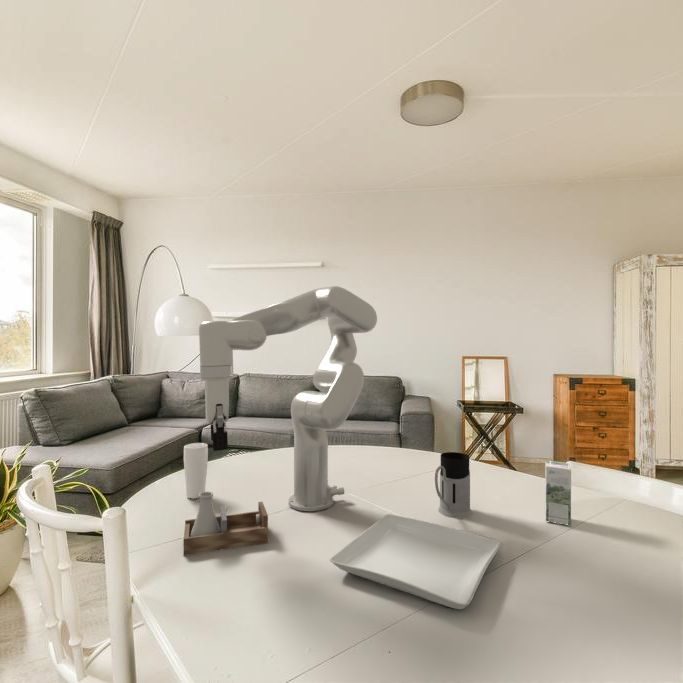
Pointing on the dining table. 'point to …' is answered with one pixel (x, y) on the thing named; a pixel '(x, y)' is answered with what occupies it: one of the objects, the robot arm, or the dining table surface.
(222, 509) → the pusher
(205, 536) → the wooden tray
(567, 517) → the syrup box
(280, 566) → the dining table surface
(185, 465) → the drinking glass
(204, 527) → the flask
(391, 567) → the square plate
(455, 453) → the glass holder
